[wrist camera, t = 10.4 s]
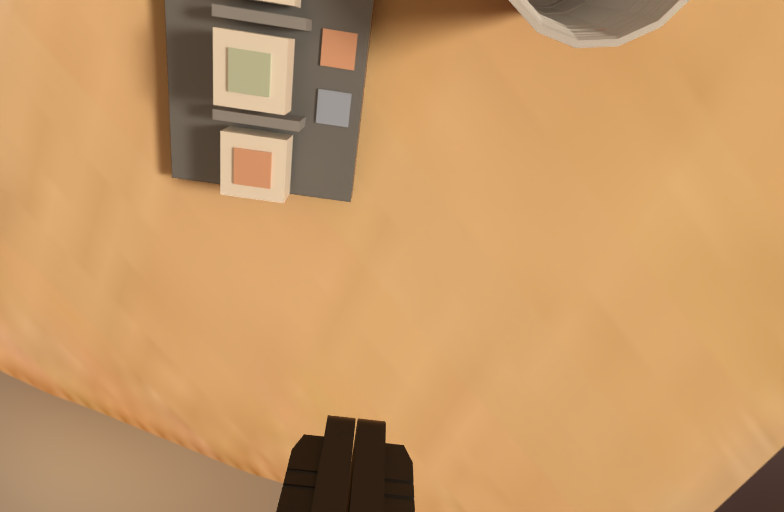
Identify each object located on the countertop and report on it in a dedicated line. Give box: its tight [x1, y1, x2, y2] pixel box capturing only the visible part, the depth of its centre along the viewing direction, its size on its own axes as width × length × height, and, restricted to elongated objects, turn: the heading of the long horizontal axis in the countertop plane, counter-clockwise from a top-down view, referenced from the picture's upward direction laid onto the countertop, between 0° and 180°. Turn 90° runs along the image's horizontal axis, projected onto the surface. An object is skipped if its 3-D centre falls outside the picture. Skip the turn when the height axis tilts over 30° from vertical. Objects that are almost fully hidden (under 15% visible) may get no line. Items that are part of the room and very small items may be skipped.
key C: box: [220, 126, 293, 203], centre depth 36 cm, size 5×5×4 cm
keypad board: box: [165, 0, 374, 202], centre depth 34 cm, size 18×14×4 cm
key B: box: [213, 27, 295, 115], centre depth 32 cm, size 5×5×4 cm
